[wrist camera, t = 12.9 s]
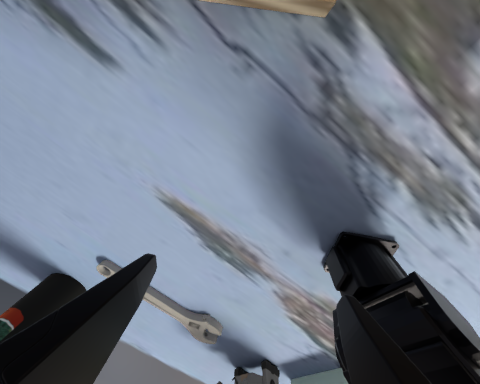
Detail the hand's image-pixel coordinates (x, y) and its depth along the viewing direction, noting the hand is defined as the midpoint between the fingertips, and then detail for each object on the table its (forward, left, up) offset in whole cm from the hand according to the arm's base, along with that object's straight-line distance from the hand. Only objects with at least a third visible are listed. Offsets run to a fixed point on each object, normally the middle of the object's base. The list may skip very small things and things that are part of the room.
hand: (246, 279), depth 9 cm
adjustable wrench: (+11, +26, -14) cm, 31 cm away
